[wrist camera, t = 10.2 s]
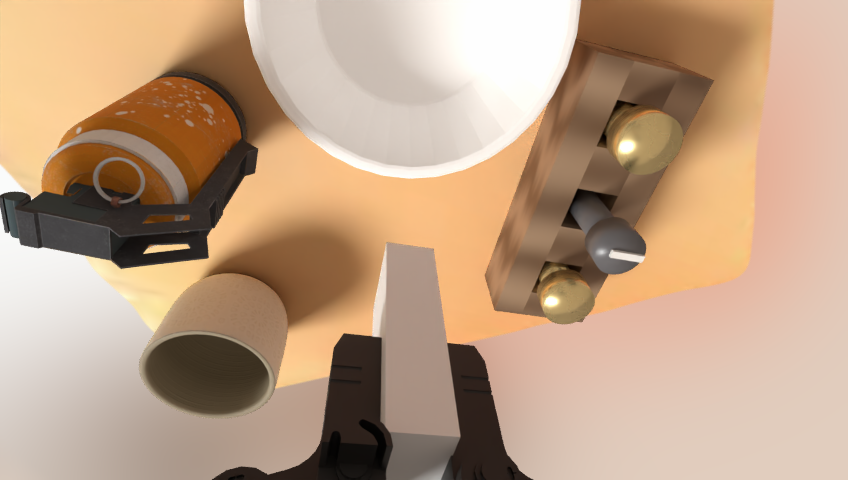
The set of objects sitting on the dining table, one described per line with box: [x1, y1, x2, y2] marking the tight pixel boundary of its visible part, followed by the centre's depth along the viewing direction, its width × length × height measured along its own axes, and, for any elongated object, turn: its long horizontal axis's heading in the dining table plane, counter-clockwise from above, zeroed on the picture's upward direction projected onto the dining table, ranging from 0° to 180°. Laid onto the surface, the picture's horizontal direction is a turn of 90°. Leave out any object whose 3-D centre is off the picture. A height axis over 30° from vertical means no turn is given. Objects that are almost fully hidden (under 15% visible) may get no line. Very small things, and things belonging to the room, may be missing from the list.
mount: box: [485, 39, 714, 322], centre depth 45 cm, size 26×10×6 cm, turn 167°
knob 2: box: [603, 100, 683, 175], centre depth 39 cm, size 5×5×9 cm
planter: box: [139, 273, 288, 419], centre depth 49 cm, size 12×12×11 cm
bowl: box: [244, 0, 581, 179], centre depth 34 cm, size 22×22×8 cm
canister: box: [0, 72, 258, 269], centre depth 33 cm, size 9×11×20 cm
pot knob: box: [569, 189, 646, 274], centre depth 40 cm, size 4×4×10 cm
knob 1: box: [537, 261, 595, 324], centre depth 47 cm, size 5×5×9 cm
